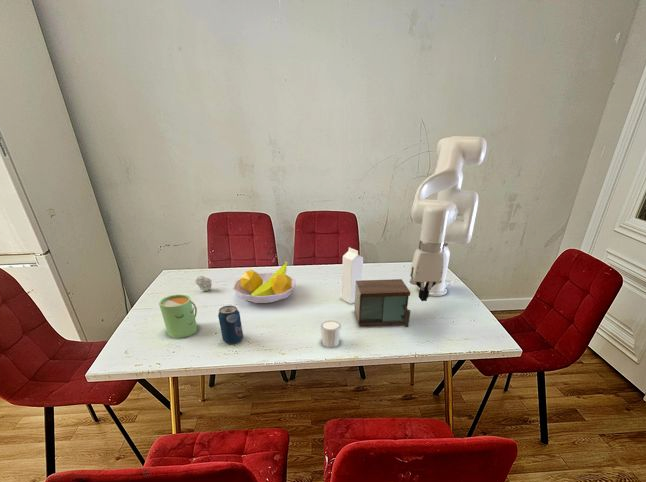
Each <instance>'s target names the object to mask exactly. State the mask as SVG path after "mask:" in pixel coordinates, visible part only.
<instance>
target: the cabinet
mask: <svg viewBox="0 0 646 482" xmlns="http://www.w3.org/2000/svg"><path fill="white" fill-rule="evenodd" d="M394 296H408V298H409V297H410V296H411V290H410V289H409V288H408V286H407V285H406V283H405V282H404V281H403V279H402V278H397V279H395V278H394V279H364V280H363V279H362V280H361V281H356V286H355V303H354V315H355V318H356V321H357V324H358V327H359V328H367V327H388V326H389V327H391V326H392V327H393V326H405V323H404V321H397V322H382V317H383V306H384V297H394ZM408 305H409V302H408V303H407V306H408Z"/></svg>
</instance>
